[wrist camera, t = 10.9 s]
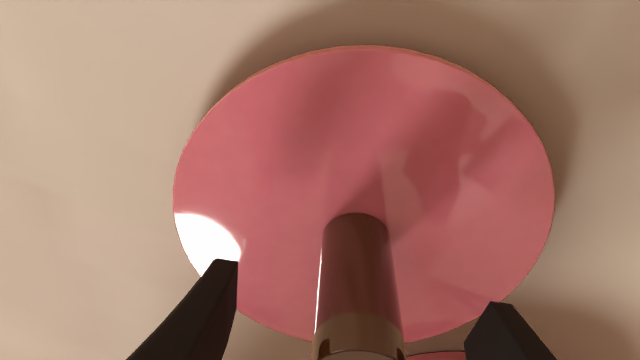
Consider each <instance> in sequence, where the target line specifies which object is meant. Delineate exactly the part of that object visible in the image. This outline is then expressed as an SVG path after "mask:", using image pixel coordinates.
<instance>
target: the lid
mask: <svg viewBox="0 0 640 360" xmlns="http://www.w3.org/2000/svg"><path fill="white" fill-rule="evenodd" d="M554 205H555V187H554V180H553V174H552V168H551V165H550V162H549V159H548V156H547V154H546V151H545V148H544V145H543V144H542V142H541V140H540V139H539V137H538V135H537V133H536V132H535V130H534V128H533V127H532V125H531V124H530V122H529V121H528V120H527V119H526V118H525V117H524V115H523V114H522V113H521V112H520V111H519V110H518V108H517V107H516V106H515V105H514V104H513V103H512V102H511V101H510V100H509V99H508V98H507V97H505V96H504V95H503V94H502V93H501V92H500V91H498V90H497V89H496V88H495V87H494V86H492V85H491V84H490V83H489V82H487V81H486V80H484V79H482V78H481V77H479V76H477V75H476V74H474V73H472V72H470V71H469V70H467V69H465V68H464V67H461V66H459V65H457V64H454V63H452V62H449V61H447V60H444V59H442V58H439V57H437V56H434V55H430V54H426V53H422V52H418V51H414V50H410V49H406V48H397V47H388V46H378V45H357V46H338V47H332V48H326V49H320V50H314V51H309V52H306V53H303V54H300V55H297V56H293V57H290V58H287V59H284V60H281V61H279V62H277V63H275V64H272V65H270V66H268V67H266V68H264V69H262V70H260V71H258V72H256V73H254V74H253V75H251V76H250V77H248V78H247V79H245V80H244V81H242V82H241V83H239V84H237V85H236V86H234V87H233V88H232V89H231V90H230V91H229V92H227V93H226V94H225V95H224V96H223V97H222V98H221V99H220V100H219V101H218V102H216V103H215V104H214V105H213V106H212V108H211V109H210V110H209V111H208V113H207V114H206V115H205V116H204V118H203V119H202V120H201V121H200V123H199V124H198V125H197V126H196V128H195V129H194V131H193V132H192V134H191V136H190V138H189V140H188V141H187V143H186V145H185V147H184V149H183V151H182V154H181V157H180V160H179V163H178V166H177V168H176V174H175V180H174V186H173V212H174V218H175V224H176V229H177V232H178V235H179V238H180V241H181V244H182V246H183V248H184V250H185V252H186V254H187V256H188V258H189V260H190V262H191V263H192V265H193V266H194V268H195V269H196V271H197V272H198V273H199V275H200V276H202V275H203V273H204V272H205V271H206V269H207V268H208V266H209V265H210V264H211V262H212V261H213V260H214V259H216V258H219V259H226V260H232V261H238V285H237V308H236V310H238V311H239V312H241V313H242V314H244V315H246V316H247V317H249V318H251V319H252V320H254V321H256V322H258V323H260V324H262V325H264V326H266V327H269V328H271V329H273V330H276V331H278V332H281V333H284V334H286V335H289V336H292V337H296V338H300V339H303V340H307V341H312V351H311V360H407V353H406V346H405V343H409V342H413V341H418V340H423V339H426V338H429V337H433V336H436V335H440V334H442V333H445V332H447V331H450V330H452V329H455V328H458V327H460V326H462V325H464V324H466V323H468V322H470V321H472V320H474V319H475V318H477V317H479V316H480V315H482V313H483V312H484V310H485V308H486V307H487V305H488V304H489V302H490V301H493V302H500V301H502V300H503V299H504V298H505V297H507V296H508V295H509V294H510V293H511V292H512V291H513V290H514V289H515V288H516V287H517V286H518V285H519V284H520V283H521V282H522V280H523V279H524V278H525V277H526V275H527V274H528V273H529V271H530V270H531V269H532V268H533V266H534V264H535V263H536V261H537V259H538V257H539V256H540V254H541V252H542V250H543V248H544V246H545V243H546V241H547V238H548V235H549V233H550V230H551V225H552V220H553V215H554Z"/></svg>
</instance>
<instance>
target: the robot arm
mask: <svg viewBox="0 0 640 360" xmlns="http://www.w3.org/2000/svg"><path fill="white" fill-rule="evenodd" d="M237 285H238V261H232V260H226V259H219V258H216V259H214V260H213V261H212V262H211V264H210V265H209V266H208V268H207V269H206V271H205V272H204V273H203V275H202V276H201V277H200V279H199V280H198V281H197V282H196V284H195V285H194V286H193V287H192V289H191V290H190V291H189V292H188V293H187V295H186V296H185V297H184V298H183V299H182V301H181V302H180V303H179V304H178V305H177V306H176V307H175V309H174V310H173V311H172V312H171V313H170V314H169V315H168V317H167V318H166V319H165V320H164V321H163V322H162V323H161V324H160V325H159V326H158V328H157V329H156V330H155V331H154V332H153V333H152V334H151V335H150V336H149V337H148V338H147V339H146V340H145V341H144V342H143V343H142V344H141V345H140V346H139V347H138V348H137V349H136V350H135V351H134V352H133V353H132V354H131V355H130V356H129V357H128V358H127V359H126V360H222V357H223V354H224V351H225V349H226V346H227V343H228V339H229V335H230V332H231V328H232V324H233V320H234V316H235V312H236V308H237ZM464 349H465V356H466V360H557V359H556V358H555V357H554V355H553V354H552V353H551V352H550V351H549V349H548V348H547V347H546V346H545V344H544V343H543V342H542V341H541V340H540V338H539V337H538V336H537V335H536V333H535V332H534V331H533V330H532V329H531V327H530V326H529V325H528V324H527V322H526V321H525V320H524V319H523V318H522V316H521V315H520V314H519V313H518V312H517V311H516V309H515V308H514V307H513V306H512V305H511V304H506V303H500V302H493V301H490V302H489V304H488V305H487V307H486V308H485V310H484V312H483V313H482V315H481V316H480V318H479V320H478V321H477V323H476V324H475V326H474V327H473V329H472V331H471V332H470V334H469V335H468V337H467V339H466V340H465V342H464Z"/></svg>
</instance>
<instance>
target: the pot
mask: <svg viewBox="0 0 640 360" xmlns="http://www.w3.org/2000/svg"><path fill="white" fill-rule="evenodd" d="M407 360H466V356H465V352H458V351H452V352H434V353H426V354H419V355H414V356H409V357H407Z"/></svg>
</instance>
